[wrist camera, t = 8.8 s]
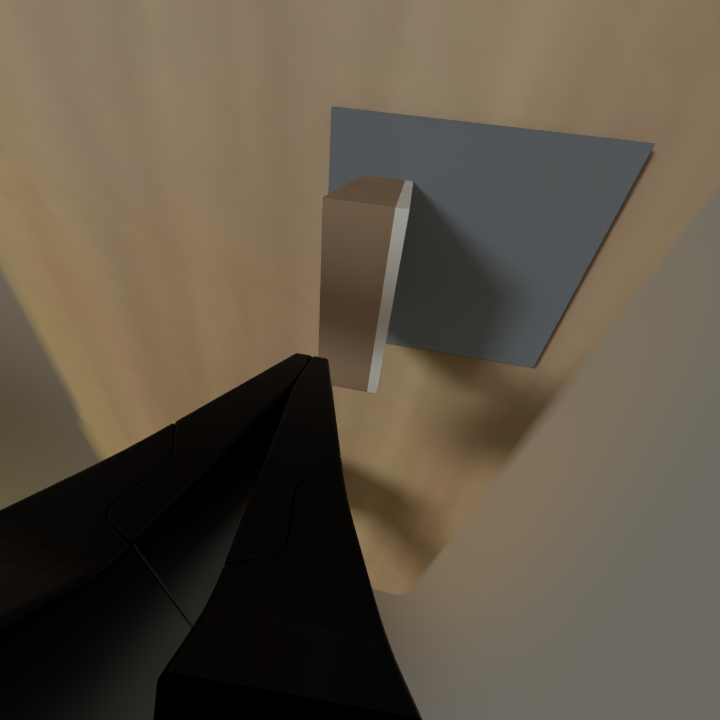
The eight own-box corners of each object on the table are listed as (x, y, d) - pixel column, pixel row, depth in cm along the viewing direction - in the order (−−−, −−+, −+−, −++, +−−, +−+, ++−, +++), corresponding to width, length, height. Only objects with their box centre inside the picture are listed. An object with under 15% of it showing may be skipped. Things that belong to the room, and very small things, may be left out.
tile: (390, 309, 19) (376, 393, 13) (351, 303, 19) (317, 383, 13) (413, 181, 15) (409, 209, 9) (363, 175, 15) (322, 197, 9)
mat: (530, 363, 20) (533, 367, 20) (325, 329, 21) (324, 332, 21) (647, 143, 13) (655, 143, 13) (334, 107, 14) (331, 106, 14)
